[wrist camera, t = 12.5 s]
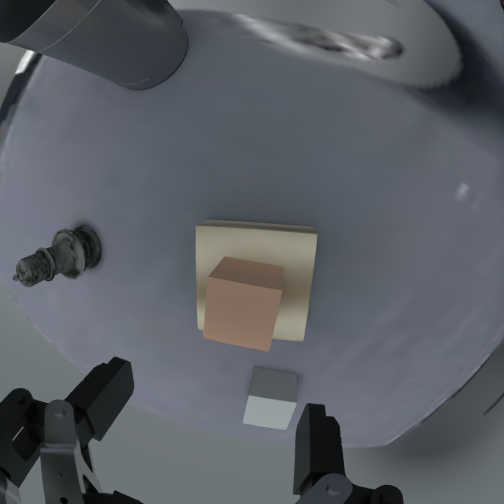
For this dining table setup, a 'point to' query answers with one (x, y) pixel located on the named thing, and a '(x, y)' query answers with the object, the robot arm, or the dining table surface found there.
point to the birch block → (263, 251)
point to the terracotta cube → (243, 303)
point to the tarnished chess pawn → (61, 257)
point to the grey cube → (271, 398)
